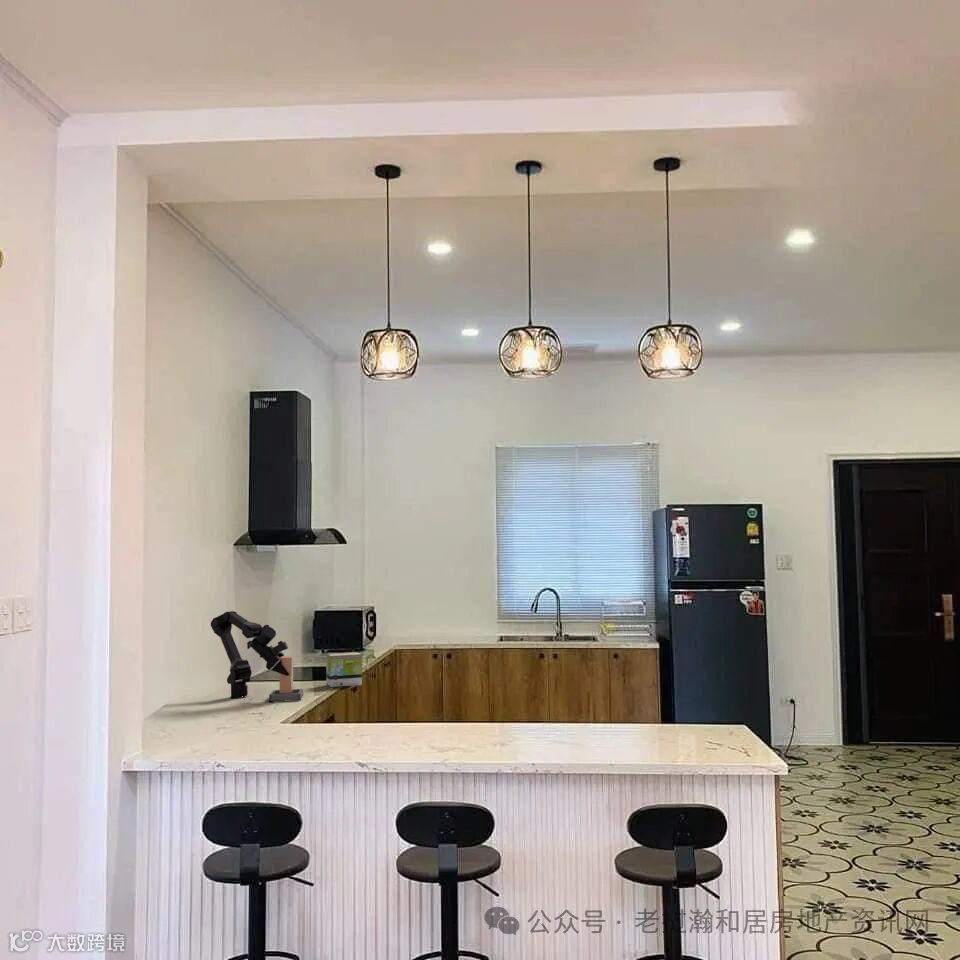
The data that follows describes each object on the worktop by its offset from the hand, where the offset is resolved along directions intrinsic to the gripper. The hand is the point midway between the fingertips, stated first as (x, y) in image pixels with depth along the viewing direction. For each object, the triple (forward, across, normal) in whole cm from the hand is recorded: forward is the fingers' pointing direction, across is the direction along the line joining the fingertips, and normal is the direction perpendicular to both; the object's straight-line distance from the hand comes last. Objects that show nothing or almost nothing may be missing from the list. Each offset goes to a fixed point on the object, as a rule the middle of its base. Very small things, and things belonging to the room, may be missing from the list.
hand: (289, 674), depth 381 cm
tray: (+6, 0, +8) cm, 11 cm away
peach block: (+4, 0, +6) cm, 8 cm away
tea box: (+23, +33, -8) cm, 41 cm away
